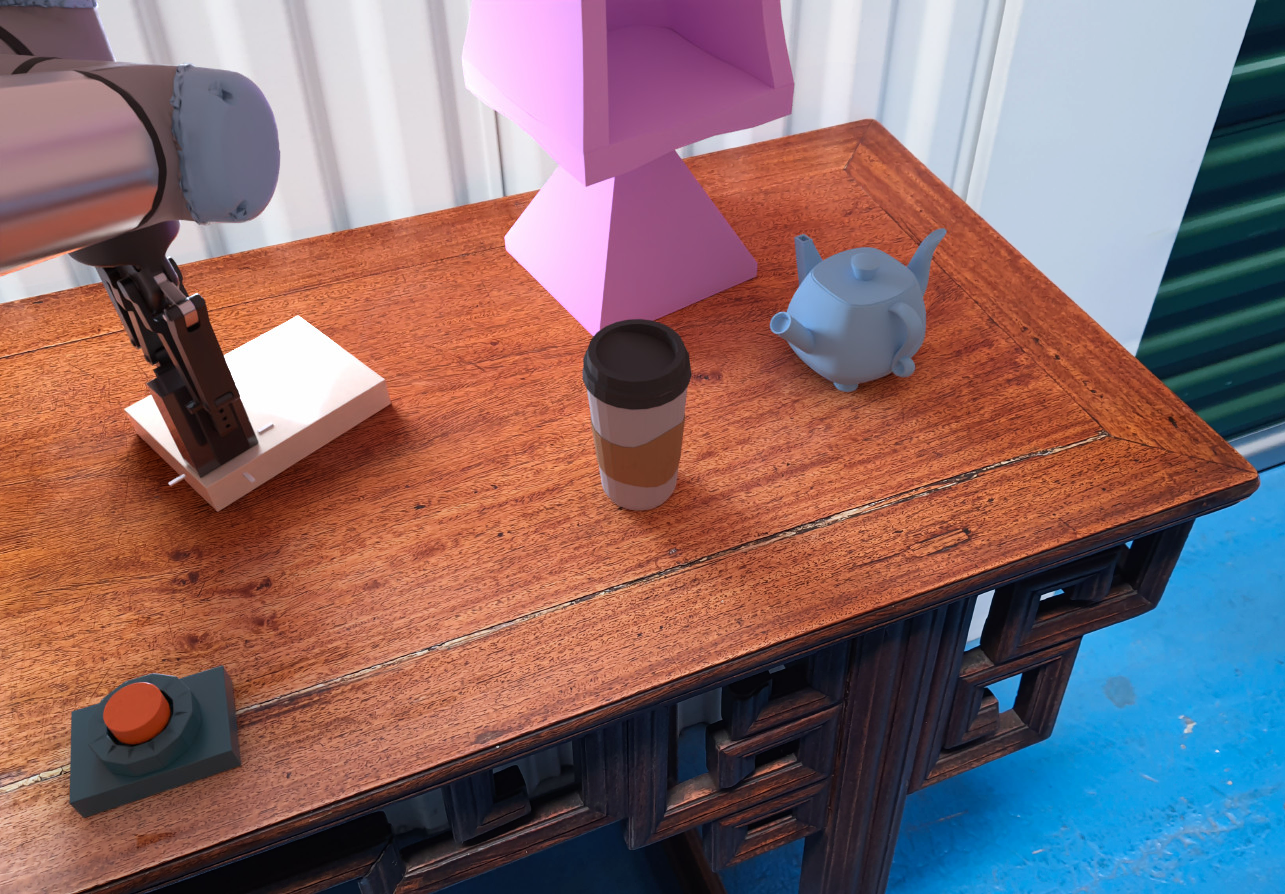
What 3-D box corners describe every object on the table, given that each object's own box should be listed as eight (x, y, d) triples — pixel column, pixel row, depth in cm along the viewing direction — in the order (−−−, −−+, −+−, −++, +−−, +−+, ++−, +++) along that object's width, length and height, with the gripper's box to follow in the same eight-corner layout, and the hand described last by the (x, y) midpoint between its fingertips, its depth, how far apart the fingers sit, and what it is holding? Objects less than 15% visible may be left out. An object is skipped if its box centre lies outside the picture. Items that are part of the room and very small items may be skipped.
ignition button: (113, 752, 64) (102, 739, 63) (113, 706, 66) (102, 692, 65) (172, 734, 65) (162, 720, 64) (169, 688, 67) (160, 674, 66)
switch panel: (212, 539, 81) (199, 514, 79) (116, 443, 89) (102, 418, 87) (407, 415, 91) (400, 389, 89) (305, 339, 99) (297, 313, 97)
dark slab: (200, 478, 82) (160, 395, 75) (185, 463, 83) (144, 380, 76) (259, 443, 84) (225, 360, 78) (243, 429, 86) (208, 346, 79)
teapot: (789, 298, 103) (800, 203, 94) (924, 319, 100) (948, 223, 92) (761, 396, 92) (771, 298, 84) (911, 422, 90) (936, 323, 82)
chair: (595, 356, 97) (563, -175, 64) (488, 248, 110) (418, -238, 78) (774, 278, 105) (825, -225, 73) (656, 186, 118) (654, -274, 86)
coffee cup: (644, 436, 89) (643, 301, 78) (708, 488, 84) (715, 352, 74) (570, 481, 85) (558, 345, 74) (633, 538, 80) (628, 403, 70)
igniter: (83, 818, 65) (56, 790, 62) (84, 727, 69) (59, 697, 66) (241, 766, 67) (223, 736, 64) (232, 681, 72) (214, 650, 69)
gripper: (226, 215, 63) (316, 466, 80) (94, 124, 72) (200, 368, 88) (114, 266, 59) (233, 519, 76) (-11, 164, 68) (120, 411, 85)
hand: (215, 437), depth 82 cm, fingers open, 5 cm apart
